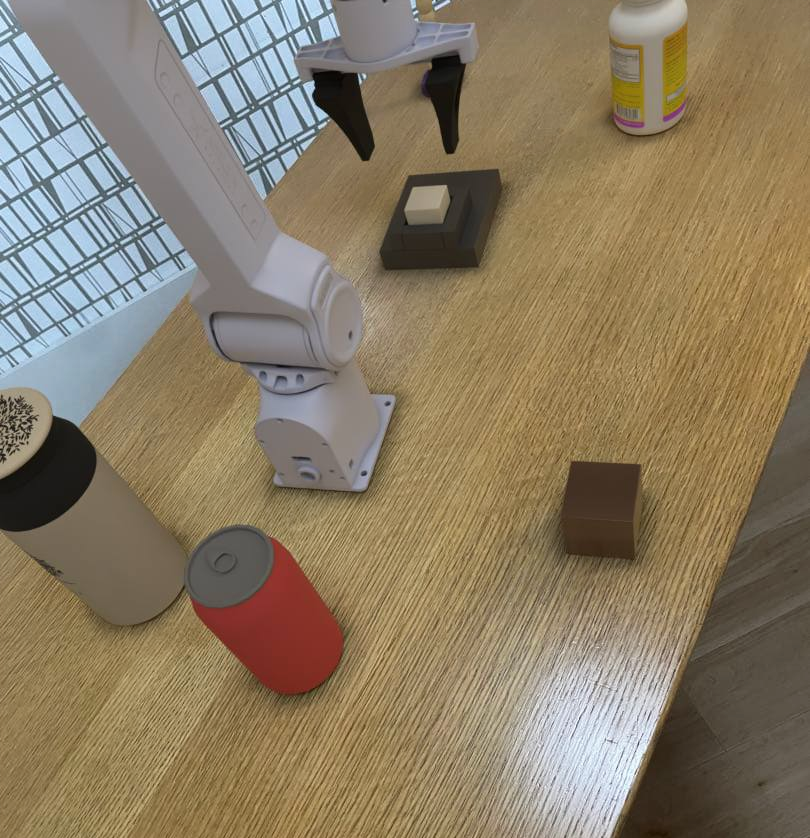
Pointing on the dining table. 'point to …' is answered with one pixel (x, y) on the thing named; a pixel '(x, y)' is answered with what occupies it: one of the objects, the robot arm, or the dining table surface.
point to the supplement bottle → (648, 64)
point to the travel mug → (81, 515)
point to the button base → (444, 223)
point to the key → (427, 205)
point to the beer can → (263, 608)
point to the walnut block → (602, 509)
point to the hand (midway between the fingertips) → (409, 150)
